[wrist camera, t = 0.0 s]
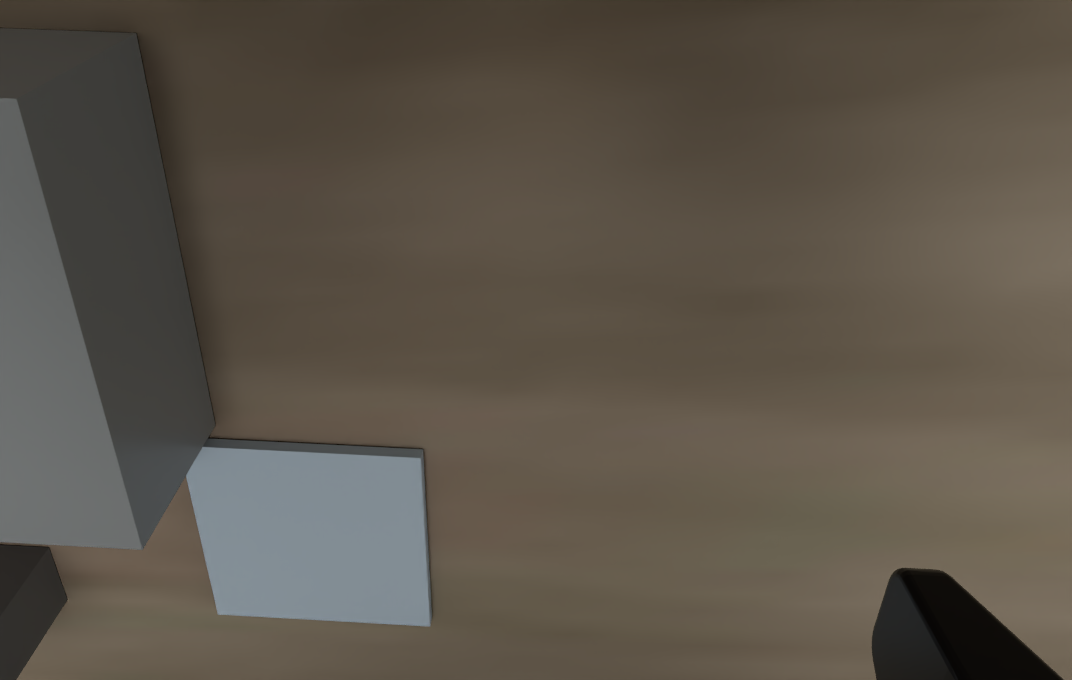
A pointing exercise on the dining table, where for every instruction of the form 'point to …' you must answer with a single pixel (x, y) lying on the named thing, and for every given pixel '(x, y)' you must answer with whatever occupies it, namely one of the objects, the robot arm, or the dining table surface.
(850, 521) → the dining table surface
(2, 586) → the dark gray rectangular block
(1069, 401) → the dining table surface
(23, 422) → the breaker housing
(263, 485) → the pad
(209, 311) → the dining table surface
